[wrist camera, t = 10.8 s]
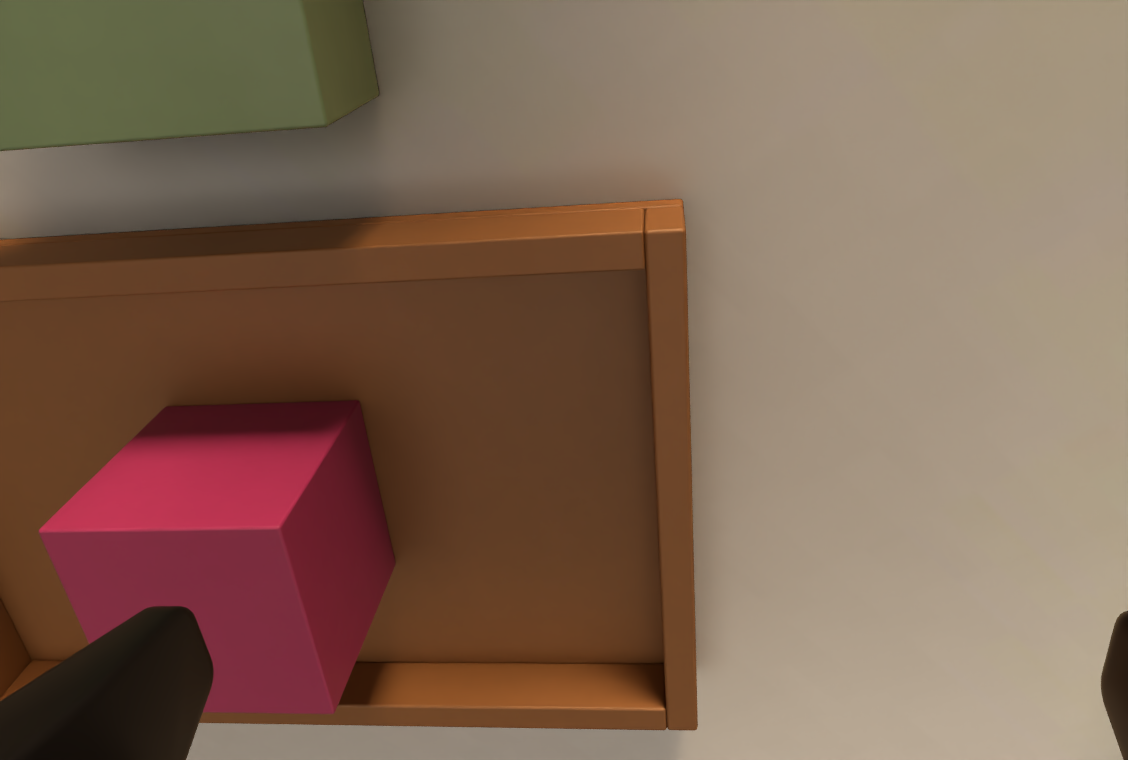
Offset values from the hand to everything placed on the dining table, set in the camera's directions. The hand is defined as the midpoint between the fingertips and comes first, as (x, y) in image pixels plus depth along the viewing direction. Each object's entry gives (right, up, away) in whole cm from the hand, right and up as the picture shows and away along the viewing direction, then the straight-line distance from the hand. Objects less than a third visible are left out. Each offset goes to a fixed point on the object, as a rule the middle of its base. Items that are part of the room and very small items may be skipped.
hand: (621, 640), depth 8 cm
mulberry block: (-8, 0, +14) cm, 16 cm away
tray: (-8, 0, +14) cm, 16 cm away
